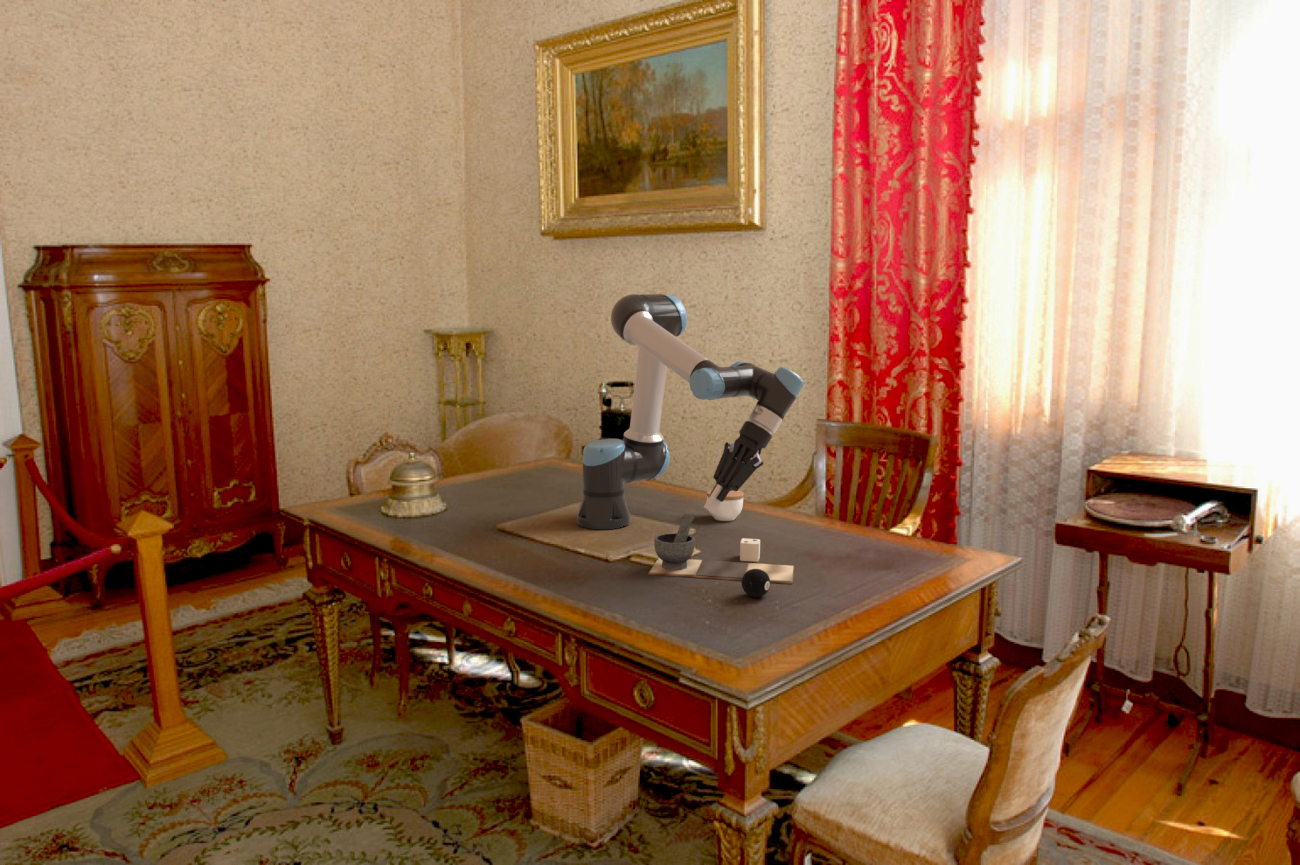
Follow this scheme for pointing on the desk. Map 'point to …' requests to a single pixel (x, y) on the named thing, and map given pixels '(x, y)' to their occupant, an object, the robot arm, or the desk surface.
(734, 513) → the lidded jar
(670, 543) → the mortar and pestle
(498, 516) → the desk surface
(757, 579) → the billiard ball
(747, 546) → the cream white block
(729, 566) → the board
